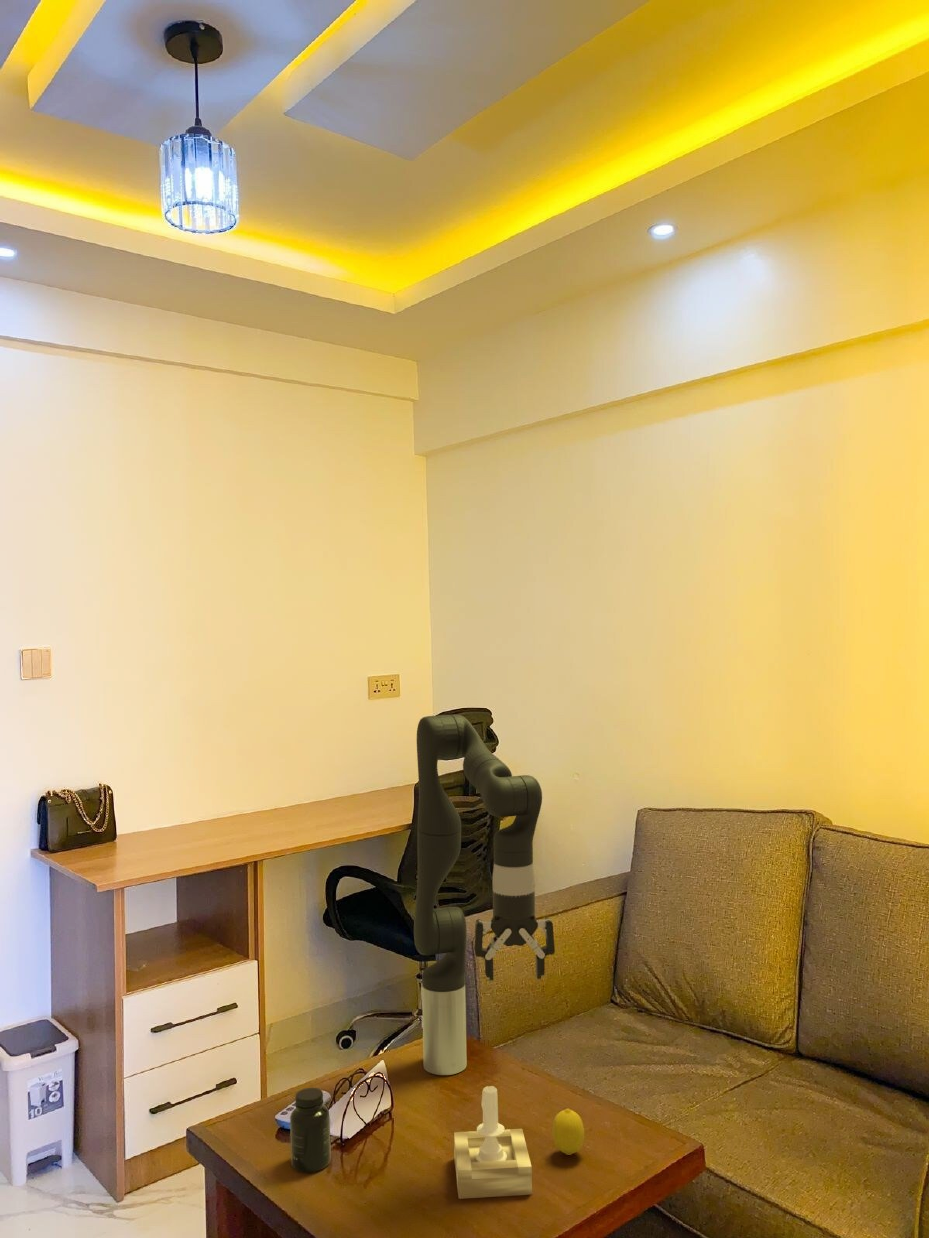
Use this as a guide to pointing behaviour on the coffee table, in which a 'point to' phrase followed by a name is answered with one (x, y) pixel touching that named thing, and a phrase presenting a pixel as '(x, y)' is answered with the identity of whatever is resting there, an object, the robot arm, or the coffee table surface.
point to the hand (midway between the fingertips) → (514, 978)
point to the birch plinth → (492, 1166)
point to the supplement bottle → (310, 1132)
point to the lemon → (568, 1131)
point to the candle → (490, 1128)
